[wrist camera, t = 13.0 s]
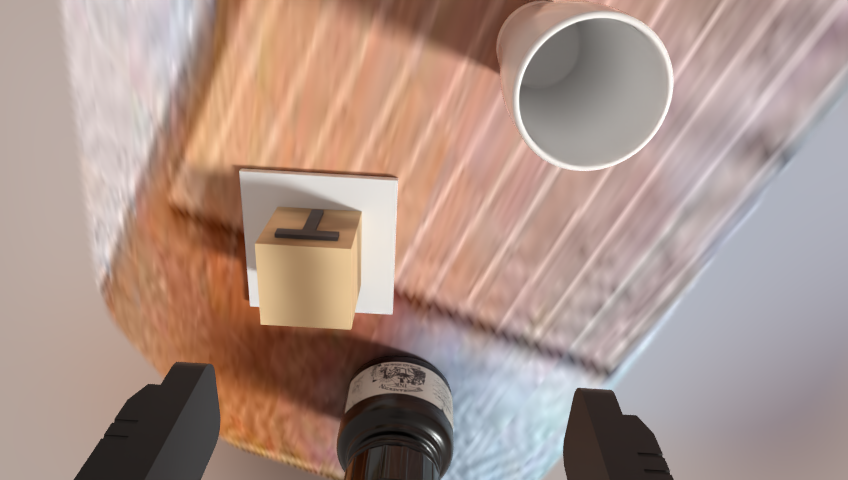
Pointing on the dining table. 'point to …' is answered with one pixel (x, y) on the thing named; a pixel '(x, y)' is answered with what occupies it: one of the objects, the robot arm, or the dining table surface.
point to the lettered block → (309, 267)
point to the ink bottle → (396, 422)
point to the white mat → (331, 193)
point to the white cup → (583, 82)
